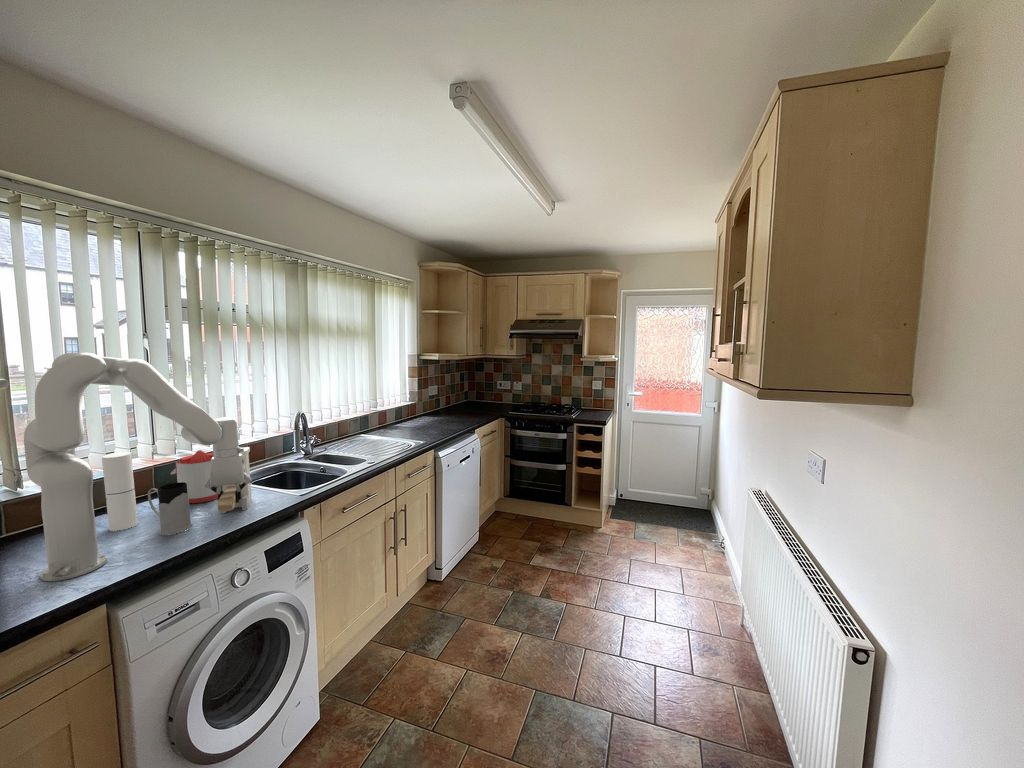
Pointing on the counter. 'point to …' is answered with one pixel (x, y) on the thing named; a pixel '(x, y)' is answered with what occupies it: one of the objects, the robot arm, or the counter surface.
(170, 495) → the grey mug
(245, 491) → the tall white box
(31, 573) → the counter surface
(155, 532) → the counter surface
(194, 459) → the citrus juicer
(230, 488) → the rail
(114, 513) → the cylindrical container
